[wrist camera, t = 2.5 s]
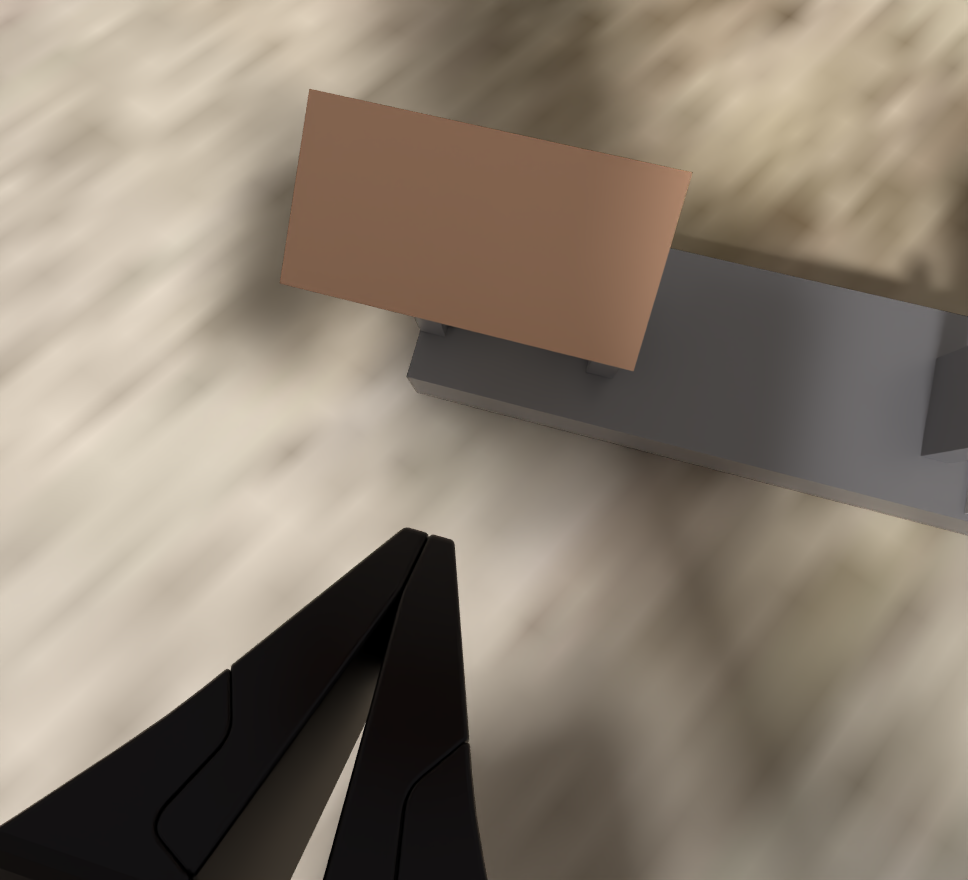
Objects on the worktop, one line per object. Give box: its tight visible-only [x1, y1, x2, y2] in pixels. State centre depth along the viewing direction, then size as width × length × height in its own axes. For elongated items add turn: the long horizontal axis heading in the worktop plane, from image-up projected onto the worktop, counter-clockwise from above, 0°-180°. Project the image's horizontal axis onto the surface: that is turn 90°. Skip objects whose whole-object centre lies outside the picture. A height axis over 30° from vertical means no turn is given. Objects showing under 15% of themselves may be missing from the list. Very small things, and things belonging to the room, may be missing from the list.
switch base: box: [407, 248, 968, 535], centre depth 17 cm, size 6×21×4 cm, turn 75°
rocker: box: [280, 89, 693, 371], centre depth 11 cm, size 2×4×11 cm, turn 75°
